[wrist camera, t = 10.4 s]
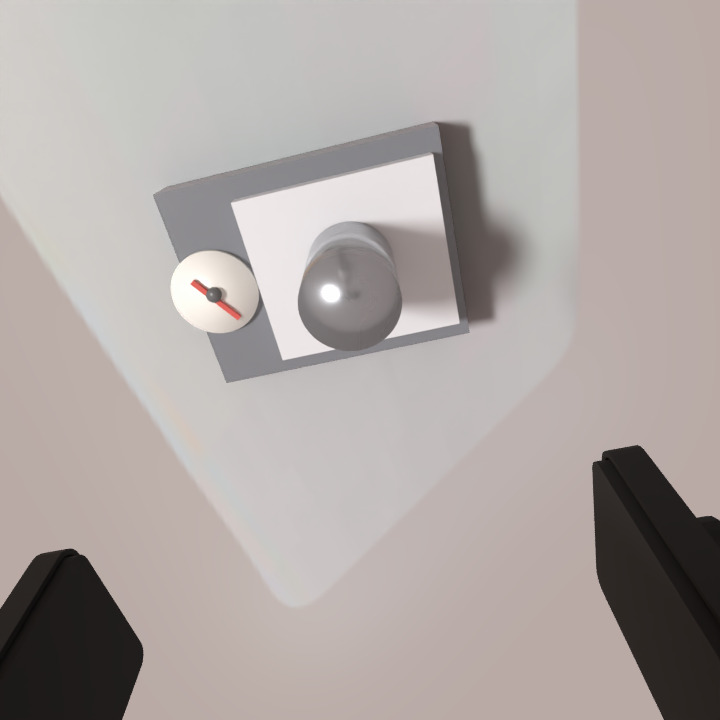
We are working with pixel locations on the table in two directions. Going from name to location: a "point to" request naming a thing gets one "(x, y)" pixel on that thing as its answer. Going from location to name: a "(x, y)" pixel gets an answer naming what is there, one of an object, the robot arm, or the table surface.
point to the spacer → (350, 288)
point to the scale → (295, 237)
